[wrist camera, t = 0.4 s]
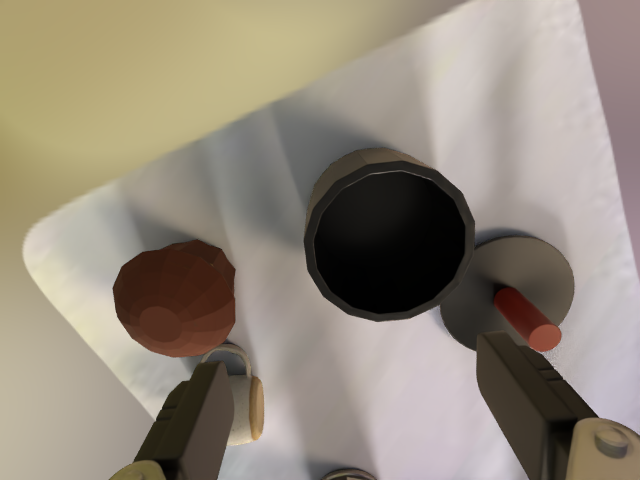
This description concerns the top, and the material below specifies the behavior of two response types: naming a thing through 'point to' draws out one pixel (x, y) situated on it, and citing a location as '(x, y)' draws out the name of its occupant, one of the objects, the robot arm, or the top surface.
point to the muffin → (177, 298)
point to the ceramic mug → (244, 400)
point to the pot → (386, 235)
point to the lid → (511, 293)
